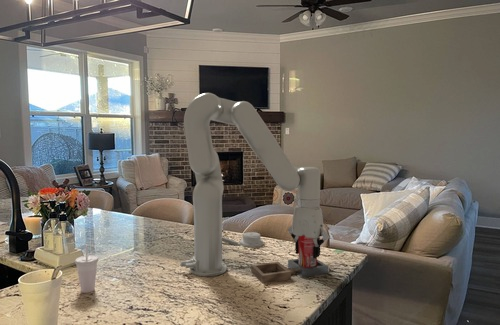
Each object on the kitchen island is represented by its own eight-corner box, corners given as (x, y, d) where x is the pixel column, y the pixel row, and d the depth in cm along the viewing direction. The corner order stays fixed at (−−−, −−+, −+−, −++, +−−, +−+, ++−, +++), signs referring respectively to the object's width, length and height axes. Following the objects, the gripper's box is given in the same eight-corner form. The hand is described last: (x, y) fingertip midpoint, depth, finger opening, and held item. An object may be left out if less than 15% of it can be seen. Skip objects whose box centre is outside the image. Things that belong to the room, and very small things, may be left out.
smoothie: (75, 296, 108) (74, 248, 107) (76, 287, 114) (74, 242, 112) (99, 292, 110) (98, 246, 109) (99, 284, 116) (97, 240, 115)
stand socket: (262, 283, 117) (262, 275, 117) (251, 272, 126) (251, 265, 126) (290, 279, 121) (291, 271, 121) (277, 268, 130) (277, 261, 130)
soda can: (304, 270, 125) (303, 236, 123) (295, 264, 131) (295, 230, 129) (320, 267, 127) (320, 233, 125) (311, 261, 133) (311, 228, 131)
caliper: (197, 240, 164) (197, 226, 163) (198, 239, 165) (198, 225, 164) (239, 246, 156) (239, 231, 155) (240, 245, 157) (240, 230, 156)
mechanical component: (237, 246, 155) (260, 248, 153) (237, 236, 155) (260, 238, 152) (243, 240, 165) (265, 241, 162) (243, 230, 164) (265, 231, 162)
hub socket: (290, 279, 121) (291, 271, 121) (277, 268, 130) (277, 261, 130) (328, 273, 126) (328, 266, 126) (312, 263, 135) (312, 256, 135)
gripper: (281, 201, 129) (280, 252, 131) (326, 208, 118) (324, 263, 120) (292, 198, 135) (292, 247, 137) (336, 205, 124) (335, 257, 126)
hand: (307, 254), depth 128 cm, fingers closed on soda can, 6 cm apart
